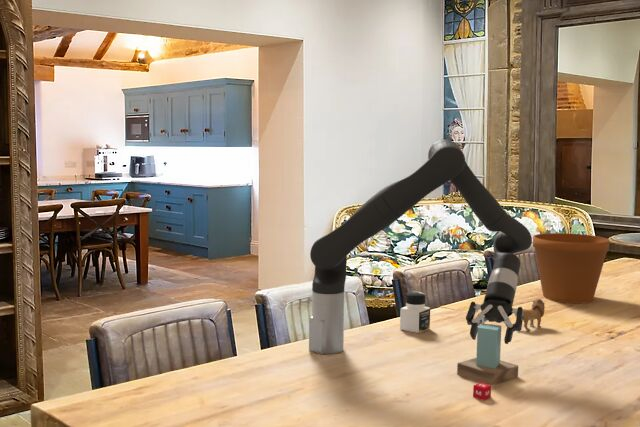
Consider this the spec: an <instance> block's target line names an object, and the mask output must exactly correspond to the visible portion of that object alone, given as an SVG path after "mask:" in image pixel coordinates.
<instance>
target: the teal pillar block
mask: <svg viewBox="0 0 640 427" xmlns="http://www.w3.org/2000/svg"><path fill="white" fill-rule="evenodd" d="M501 342H502V325H500V324H499V325H498V324H490V323H482V324H481V325H480V326H478V330H477V335H476V357H475V358H476V366H483V367H489V368H496V367H497V366H498V365H499V364H500V360H501V349H502V348H501V347H502V346H501V345H502V343H501Z"/></svg>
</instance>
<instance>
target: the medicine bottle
mask: <svg viewBox="0 0 640 427" xmlns="http://www.w3.org/2000/svg"><path fill="white" fill-rule="evenodd" d="M405 297H406V298H405V301H406V302H405V306H403V307H401V308H400V318H399V321H400V322H399V325H400V326H399V329H400V331H405V332H409V333H410V332H411V333H415V334H421V333H423V332H425V331H428V330H430V328H431V307H429V306H426V294H425V293H423V292H421V291H410V292H407V293H406V296H405Z"/></svg>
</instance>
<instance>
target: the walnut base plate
mask: <svg viewBox="0 0 640 427" xmlns="http://www.w3.org/2000/svg"><path fill="white" fill-rule="evenodd" d="M476 358H477V357H473V358H470V359H467V360H463V361H461V362H457V366H456V367H457V369H456V371H457V372H456V373H457V374H456V375H457V376H462V377H464V378H468V379H470V380H473V381H477V382H478V383H480V382H481V383H484V384H488V385H491V387H492V386H495V385H498V384H500V383H504V382H507V381H509V380H513V379H515V378H518V377H519V365H518V364H515V363H511V362H508V361H504V360H501V359H500V364H499V365H498V366H497V367H496V368H489V367H483V366H476Z"/></svg>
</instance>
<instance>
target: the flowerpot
mask: <svg viewBox="0 0 640 427" xmlns="http://www.w3.org/2000/svg"><path fill="white" fill-rule="evenodd" d="M532 247H533V248H534V251H535V256H536V257H535V258H536V263H537V268H538V269H537V270H538V275H539V280H540V285H541V291H542V296H544V297H545V299H547V300H549V301H554V302H558V301H559V303H566V302H568V303H567V304H585V303H586V304H587V303H591V302H592V301H593V300H594V298H595V295H596V294H595V293H596V291H597V287H598V284H599V281H600V280H599V279H600V277H601V272H602V270H603V266H604V263H605V260H606V256H607V254H608V252H610V238H606V237H602V236H598V235H597V236H596V235H590V234H581V233H568V232H567V233H566V232H564V233H563V232H562V233H561V232H560V233H557V232H556V233H555V232H554V233H553V232H551V233H550V232H549V233H539V234H534V235H533V236H532ZM544 297H543V298H544Z"/></svg>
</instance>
